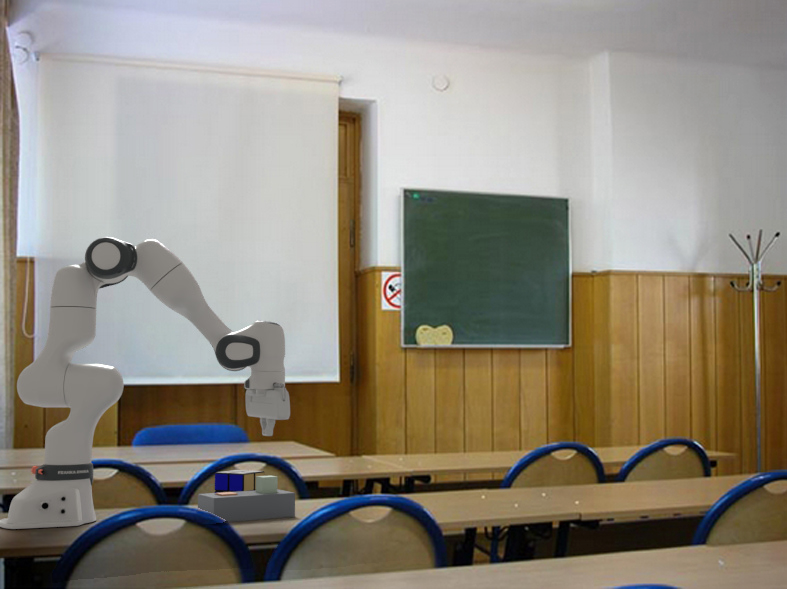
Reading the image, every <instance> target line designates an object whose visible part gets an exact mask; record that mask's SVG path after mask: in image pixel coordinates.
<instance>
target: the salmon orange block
mask: <svg viewBox="0 0 787 589" xmlns="http://www.w3.org/2000/svg"><path fill="white" fill-rule="evenodd" d="M216 495H218V496H232V495H238V493H234V492H222V493H216Z"/></svg>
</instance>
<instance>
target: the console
mask: <svg viewBox="0 0 787 589" xmlns="http://www.w3.org/2000/svg"><path fill="white" fill-rule="evenodd" d="M234 493H238V495H232V496H218V495H216V493H215V492H211V493H210V492H207V493H198V494H197V509H198V508H200V509H202V510H205V511H208V512H211V513H213V514H215V515H217V516H219V517H221V518H223V519H225V520H226V521H228V522H227V523H230V522H232V523H233V522H243V521H244V522H245V521H256V520H257V521H258V520H269V519H270V520H271V519H281V518H291V517H293V518H294V517H296V492H294V491H293V492H292V491H287V490H284V489H277V493H263V494H261V493H257V492H256V490H254V491H238V492H234Z"/></svg>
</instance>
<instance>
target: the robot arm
mask: <svg viewBox="0 0 787 589" xmlns="http://www.w3.org/2000/svg"><path fill="white" fill-rule="evenodd" d="M85 250H86V251H85V252H84V253H85V255H84V261H83V262H82V263H79V264H68V265H66V266H63V267H61V268H59V269H58V270H57V271H56V273H55V276H54V280H53V285H52V290H51V295H50V307H49V308H50V309H49V323H48V324H49V325H48V333H47V339H46V340H45V341H46V342H45V345H44V347H43V348H42V351H41V352H40V354H38V356H37V357H36V358H35V360H34V361H32V363H30V364H29V365H27V366H26V367H25V368H24V369H23V370H22V371H21V372H20V373H19V375H18V378H17V382H16V390H17V391H16V392H17V394H18V397H19V398H20V400H21V401H22V402H23V404H25V405H29V406H33V407H40V408H69V409H70V412H69V415H68V417H66V419H64V420H62V421H61V422H60V421H59V422H58V423H56V424H55V425H53V426H51V428H49V429H48V431H47V432H46V433H45V434H46V435H45V438H44V440H45V444H44V464H42V465H40V466H37V465H33V466H32V467H31V468H30V473H31V474H33V475H35V476H34V478H35V480H34V481H33V482H32V483H30V484H29V485H28V486H26V487H24V489H23V490H21V491H20V492H19V493H17V494H15V496H13V498H12V500H11V502H10V505H9V510H8V515H7V518H1V519H0V528H1V529H2V528H3V529H7V530H8V529H10V530H16V529H17V530H20V529H39V528H57V527H58V528H60V527H78V526H81V525H84V524H88V523H93V522H95V521H97V516H96V512H95V507H94V500H93V491H92V489H93V488H92V486H93V484H94V483H93V482H94V463H92V459H93V458H92V455H93V454H92V453H93V442H94V435H95V432H96V427H97V425H98V423H99V421H100V419H101V417H102V416H103V415H104V414H105V413H106V411H107V410H108V409H110V408H111V407H112V406H114V405H115V404H117V402H118V401H119V400H120V398H121V397H122V395H123V392H124V387H125V386H124V385H125V383H124V378H123V375H122V374H121V371H119V370H118V368H117V367H115V366H111V365H106V364H102V363H72V359H73V356H74V355H75V354H76V353H77V352H79V351H81V350H82V349H84V348H87V347H88V346H90V345H91V344H92V342H94V340H95V337H96V332H97V331H96V330H97V329H96V325H97V300H98V299H97V298H98V293H99V290H100V289H103V288H107V287H111V286H116V285H118V284H120V283H122V282H124V281H125V280H126V279H127V278H128V277H129V276H130V277H135V278H136V279H138V280H139V281H140V282H141V283H143V285H144V286H145V287H146V288H147V289H148V290H149V291H150V292H151V293H152V295H154V296H155V297H156V298H157V299H158V300H159V301H160V302H161V303H163V305H164V306H167V307H168V308H169V309H171V310H172V311H174V312H176V313H178V314H179V315H181V316H183V318H185V319H187V320H188V321H189V322H190V323H191V324H192V325H193V326H194V327H195V328H196V329H197V330H198V331H199V333H200V334H201V335H202V336H203V337H204V338H205V339H206V340H207V342H209V345H210V346H212V348H213V351H214V355H215V357H216V358H215V359H216V360H217V362H218V364H219V365H220V367H222V368H223V369H224V370H226V371H230V372H239V371H243V370H245V369H246V368H250V376H249V377H248V378H247V379H245V381H244V385H243V388H244V389H245V390H246V391H245V411H246V415H247V416H248V417H252V418H253V417H254V418H259V423H260V426H261V434H262V436H265V437H273V435H274V428H275V426H276V425H275V424H276V421H284V420H289V419H290V417H291V402H290V394H289V391H288V390H287V388H286V368H285V365H284V362H285V361H284V360H285V358H286V338H285V331H284V328H283V327H282V326H281V325H280V324H278V323H276V322H272V321H270V320H269V321H268V320H262V319H258V320H255V321H254V322H252V323H251V324H250V325H248V326H246V327H244V328H241V329H240V330H237V331H233V330H232V329H231V328H230V327H228V326H227V325H226V323H225V322H223V321H222V319H220V317H219V315H217V314H216V313H215V311H213V309H212V308H211V307H210V305H209V304H208V302H207V300H206V299H205V297H204V296H203V292H202V290H201V288H200V287H201V286H200V284H199V283H198V281H197V280H196V278H195V276H194V275H193V274H192V272H191V271H190V269H189V268H188V267H187V266H186V264H184V263H183V261H181V259H180V258H179V257H178V256H177V255H176V254H175V253H173V252H172V250H170V248H168V247H167V246H166V245H164V244H163V243H161V241H159V240H157V239H154V238H151V239H148V238H147V239H145V240H143V241H141V242H139V243H137V245H134V244H133V243H130V242H126V241H123V240H122V239H119V238H115V237H111V236H109V237H108V236H104V237H103V236H102V237H100V238H97V239H95V240H93V241H92V242H91V243H90V244H89V245H88V247H87V248H86V249H85Z"/></svg>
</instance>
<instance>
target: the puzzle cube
mask: <svg viewBox="0 0 787 589" xmlns="http://www.w3.org/2000/svg"><path fill="white" fill-rule="evenodd" d="M265 473H266V472H265V471H264V470H252V469H251V470H248V469H233V470H231V469H230V470H226V471H216V472H215V473H214V490H215V491H214V493H222V492H238V491H254V490H256V476H266V475H265Z"/></svg>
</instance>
